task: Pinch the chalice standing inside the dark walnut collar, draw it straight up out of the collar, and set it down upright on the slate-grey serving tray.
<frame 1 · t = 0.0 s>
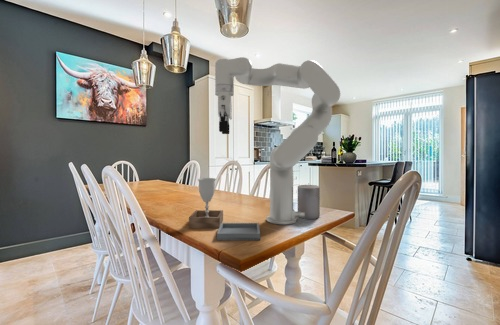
hand: (224, 132, 98), 37 cm above the table, tool pointing down, fingers open, 9 cm apart
collar: (207, 223, 95), on the table
pillar candle: (308, 216, 107), on the table
tray: (239, 234, 83), on the table
chalice: (207, 224, 95), resting in collar
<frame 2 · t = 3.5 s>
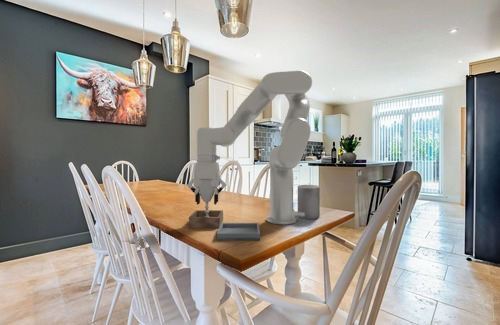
hand: (206, 203, 95), 8 cm above the table, tool pointing down, fingers closed on chalice, 6 cm apart
chalice: (207, 224, 95), resting in collar, touching gripper
everything else where it was.
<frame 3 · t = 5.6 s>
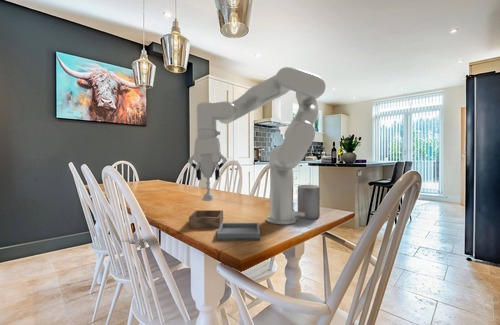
hand: (208, 179, 95), 18 cm above the table, tool pointing down, fingers closed on chalice, 6 cm apart
chalice: (208, 200, 95), point 9 cm above the table, touching gripper
everything else where it was.
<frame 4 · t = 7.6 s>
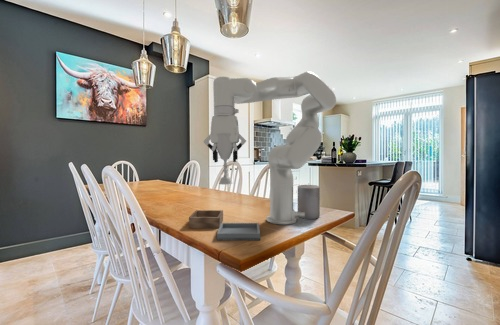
hand: (225, 161, 87), 25 cm above the table, tool pointing down, fingers closed on chalice, 6 cm apart
chalice: (225, 184, 88), point 17 cm above the table, touching gripper
everything else where it was.
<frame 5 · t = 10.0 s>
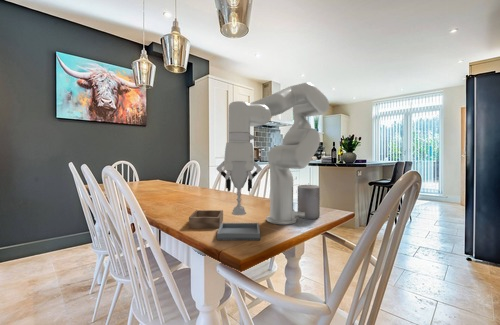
hand: (239, 190, 82), 15 cm above the table, tool pointing down, fingers closed on chalice, 6 cm apart
chalice: (238, 214, 82), point 7 cm above the table, touching gripper
everything else where it was.
when the fingers open (10 cm above the table, at t = 11.9 s): chalice drops 1 cm, resting on tray.
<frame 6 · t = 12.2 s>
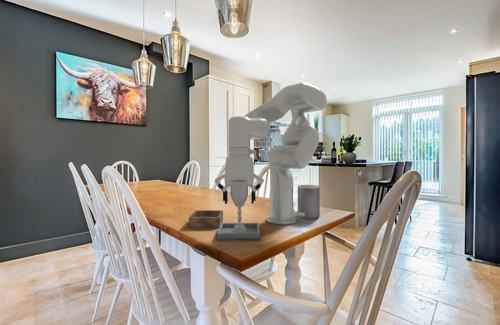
hand: (239, 202, 82), 11 cm above the table, tool pointing down, fingers open, 8 cm apart
chalice: (239, 232, 83), point 1 cm above the table, touching tray
everything else where it was.
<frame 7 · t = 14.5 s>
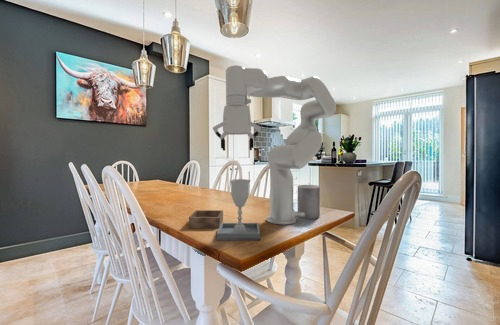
hand: (237, 150, 86), 29 cm above the table, tool pointing down, fingers open, 9 cm apart
nothing on the table moved.
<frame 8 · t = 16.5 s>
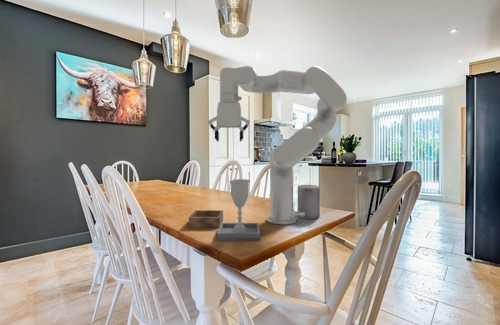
hand: (229, 141, 99), 33 cm above the table, tool pointing down, fingers open, 9 cm apart
nothing on the table moved.
at the end: chalice inside the target area on the tray (0.2 cm from its centre), point 0.6 cm above the tray's base; chalice tilted 0°; the gripper is holding nothing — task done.
